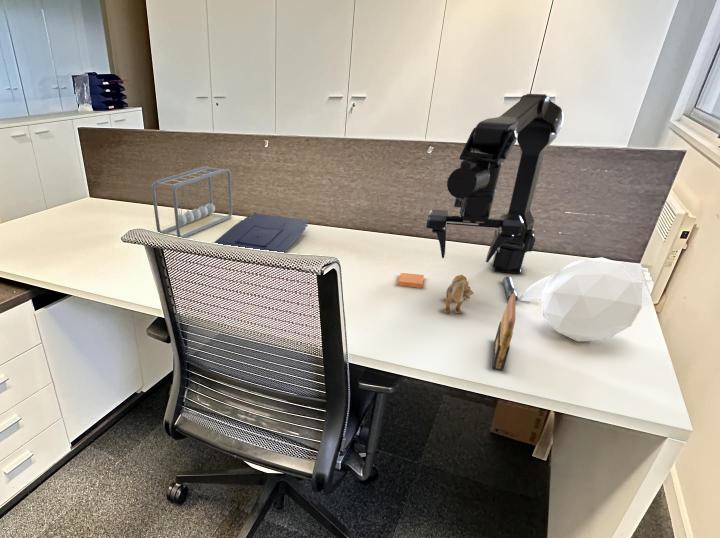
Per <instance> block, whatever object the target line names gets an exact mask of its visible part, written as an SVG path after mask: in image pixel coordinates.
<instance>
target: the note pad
mask: <svg viewBox="0 0 720 538" xmlns="http://www.w3.org/2000/svg"><path fill="white" fill-rule="evenodd" d="M399 273H400V274H399V277H398V282H397V286H398V287H399V286H400V287H408V288H417V289H423V286H424V279H425V278H424V277H425V275H424V274H418V273H408V272H399Z"/></svg>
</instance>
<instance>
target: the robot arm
mask: <svg viewBox="0 0 720 538" xmlns="http://www.w3.org/2000/svg"><path fill="white" fill-rule="evenodd" d="M564 118H565V117H564V113H563V109H562V107H561V106H559V105H558V104H556V103H555V102H553V101H552V100H551V97H550V95H547V94H544V93H526V94H522V96H521V98H520V99H519V101H518V102H516V103H515V104H513V106H511V107H510V108H509V109H507V110H506V111H505V112H503V113H502V114H501V115H499V116H497V117H490V118H486V119H483V120H481V121H479V122H478V123H477V124H476V125H475V127H473V129H472V130H471V132H470V134H469V136H468V139H467V141H466V142H465V145H464V147H463V149H462V151H461V153H460V156H459V158H458V159H459V160H460V161H461V162H460V167H458V168H456V169H454V170H453V171H452V172H451V173H450V174H449V176H448V178H447V181H446V188H447V191H448V193H449V194H450V195H451V196H452V197H454V202H453V209H460V210H459V215H450V214H449V210H447V209H446V210H445V209H431V210H429V211H428V215H427V220H426V226H425V227H426V228H425V229H429V230H431V232H432V233H434V234H436V236H437V239H438V242H439V248H440V254H441V259H444V258H445V254H446V244H447V225H452V226H465V227H478V228H491V229H495V230H494V234H493V238H492V241H491V243H490V246H489V249H488V251H487V254H486V258H485V263H489V262H490V260H491V259H492V262H491V266H492V268H493V272H496V273H507V274H516V275H521V274H522V270H521V269H522V265H523V262H524V258H525V255H526V253H529V252H530V253H531V252H533V250H534V247H535V242H536V235H535V230H534V224H535V219H534V216H533V214H532V212H531V207H532V202H533V198H534V195H535V190H536V186H537V182H538V178H539V175H540V172H541V167H542V163H543V160H544V155H545V151H546V149H547V148H548V147H549V146H550V145H551V144H552V143H553V142H554V141H555V140H556V138H557V136H558V134H559V132H560V131H561V129H562V127H563V123H564V120H565V119H564ZM516 142H517V144H518V146H519V148H520V151H521V154H520V158H519V159H520V160H519V164H518V168H517V172H516V178H515V181H514V185H513V189H512V194H511V198H510V203H509V207H508V211H507V212H506V213H502V214H501V215H500V218H493V217H490V215H491V212H492V208H493V203H494V200H495V195H496V191H497V187H498V182H499V180H500V179H499V178H500V175H501V171H502V165H503V164H504V163H505V161H506V160H507V159H508V156H509V154H511V151H512V149H513V148H514V146H515V144H516Z"/></svg>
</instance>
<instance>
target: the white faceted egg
mask: <svg viewBox="0 0 720 538" xmlns="http://www.w3.org/2000/svg"><path fill="white" fill-rule="evenodd" d="M519 301H521V302H539V301H541V309H542V316H543V318H544V319H545V320H546V321H547V322H548V323H549V325H550V326H551V327H552V328H553V330H554V331H556V332H557V333H559V334H561V335H563V336H565V337H567V338H569V339H571V340H573V341H575V342H592V341H593V342H594V341H607V340H609V339H611V338H612V337H614V336H616V335H618V334H620V333H621V332H624V331H625V330H627V329H629V328H630V327H632V326H633V323H634V322H635V320H636V319H637V317H638V315H639V314H640V311H641V310H642V307H643V306H642V305H643V282H642V281H641V280H640V279H639V278H638V277H637V276H636V275H635V274H634V273H632V272H631V271H630V270H629V269H628V268H627V267H626V266H625V265H623V264H622V263H620V262H618V261H615V260H611V259H610V258H609V259H608V258H605V257H595V258H587V259H582V260H575V261H573V262H571V263H569V264H567V265H566V266H564V267H563V268H561V269H559V270H558V271H557V272H555V273H552V274H549V275H547V276H545V277H543V278H541V279H539V280H537V281H535V282H533V284H531V285H530V286H529V287H528V288H527V289H526V290H524V292H523V293H522V294H521V295H520V296H519Z"/></svg>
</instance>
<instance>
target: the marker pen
mask: <svg viewBox="0 0 720 538" xmlns="http://www.w3.org/2000/svg"><path fill="white" fill-rule="evenodd" d="M502 284H503V287H504V290H505V294H506V298H507V302H508V301H509V299H510V297H511V295H512V294H513V293H515V303H516V302H517V301H518V300H519V297H518V294H517V292H516V288H515V286H514V283H513V280H512V277H511V276H505V277H503V279H502Z"/></svg>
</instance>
